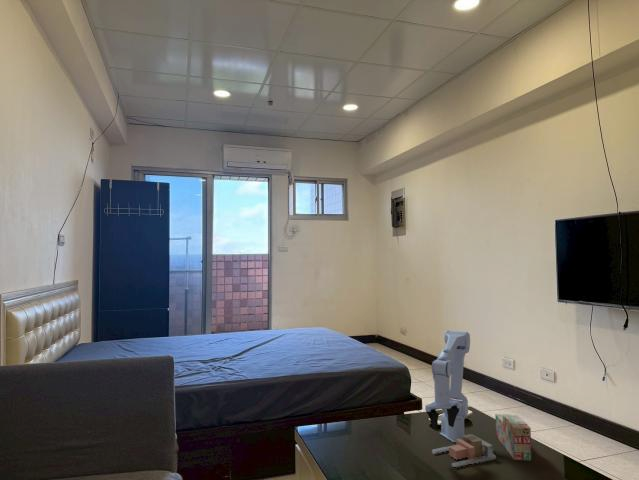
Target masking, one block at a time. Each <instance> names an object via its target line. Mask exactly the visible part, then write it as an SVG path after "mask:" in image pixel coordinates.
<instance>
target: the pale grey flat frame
mask: <svg viewBox="0 0 639 480" xmlns="http://www.w3.org/2000/svg"><path fill="white" fill-rule="evenodd" d="M471 435H473V436H475V437H477V438H478V439H480V440H482V455H483V456H481V457H477V458H472V459H468V458H467V459H465V460H463V459H462V460H460V461H459V460H458V461H455V462H451V467H452V466H453V467H459V466H463V465H468V464H472V465H475V464H474V463H476V464H480V463H484V462H488V461H492V460H496V458H497V456H496V455H495V454H494V446H493V444H491V443H489V442H488V441H485V440H483V439H481V438H480V437H478V436H476V435H474V434H472V433H471ZM455 445H456V444H452V445H448V446H444V447H438V448H434V449H432V450H431V454H432V455H434V454H435V455H439V454H443V453H442V452H444V453H447V452H446V451H449V447H450V446H455ZM438 453H439V454H438ZM479 462H480V463H479ZM468 466H469V465H468ZM453 467H452V468H453ZM463 467H464V466H463ZM459 468H460V467H459Z"/></svg>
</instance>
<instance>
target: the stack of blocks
mask: <svg viewBox="0 0 639 480" xmlns="http://www.w3.org/2000/svg"><path fill="white" fill-rule="evenodd" d="M495 429H496V430H495V431H496V432H495V433H496V437H497V439H498V440H499V441H500V443H501V444H502V446H504V448H505V449H506V450H507V452H508V453H509V455H510V456H511V458H512V459H513V460H514V461H528V462H529V461H532V435H531V434H532V433H531V432H532V428H531V427H530V426H529V425H528V423H527V422H526V421H525V420H523V418H521V416H519V415H518V414H504V413H503V414H501V413H500V414H499V413H495Z"/></svg>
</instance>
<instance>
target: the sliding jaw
mask: <svg viewBox="0 0 639 480" xmlns="http://www.w3.org/2000/svg"><path fill="white" fill-rule="evenodd" d="M454 445H455V446H452V445H449V446H450V447H449V452H448V456H449V455H450V456H449V457H451V458H452V457H453V458H452V459H454V460H455V459H456V460H455V461H459V460H463V459H467V460H468V459H472V458H475V447H473V446H472V445H470V444H468V443H467V442H465V441H463V440H461V439H456V442H455V444H454ZM466 457H467V458H466ZM462 458H463V459H462ZM458 459H459V460H458Z"/></svg>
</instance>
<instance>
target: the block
mask: <svg viewBox="0 0 639 480" xmlns="http://www.w3.org/2000/svg"><path fill="white" fill-rule="evenodd" d="M471 434H472V433H471ZM471 434H464V436H462V437H463V441H465V442H467V443H468V444H470V445H472V446H473V447H475V457H480V456H482V440H483V439H482V440H480V439H481V438H480V439H478V438H479V437H478V436H476V435H474V434H473V435H474V436H473V435H471ZM475 436H476V437H475ZM477 437H478V438H477Z"/></svg>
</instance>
